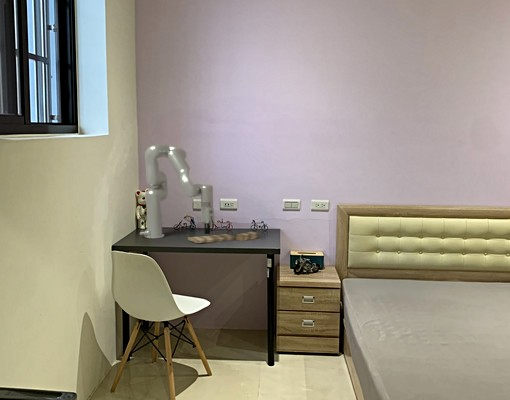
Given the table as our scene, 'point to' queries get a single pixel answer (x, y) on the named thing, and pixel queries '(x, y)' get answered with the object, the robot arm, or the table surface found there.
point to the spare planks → (247, 236)
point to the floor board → (223, 237)
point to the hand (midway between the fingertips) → (207, 233)
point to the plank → (202, 239)
